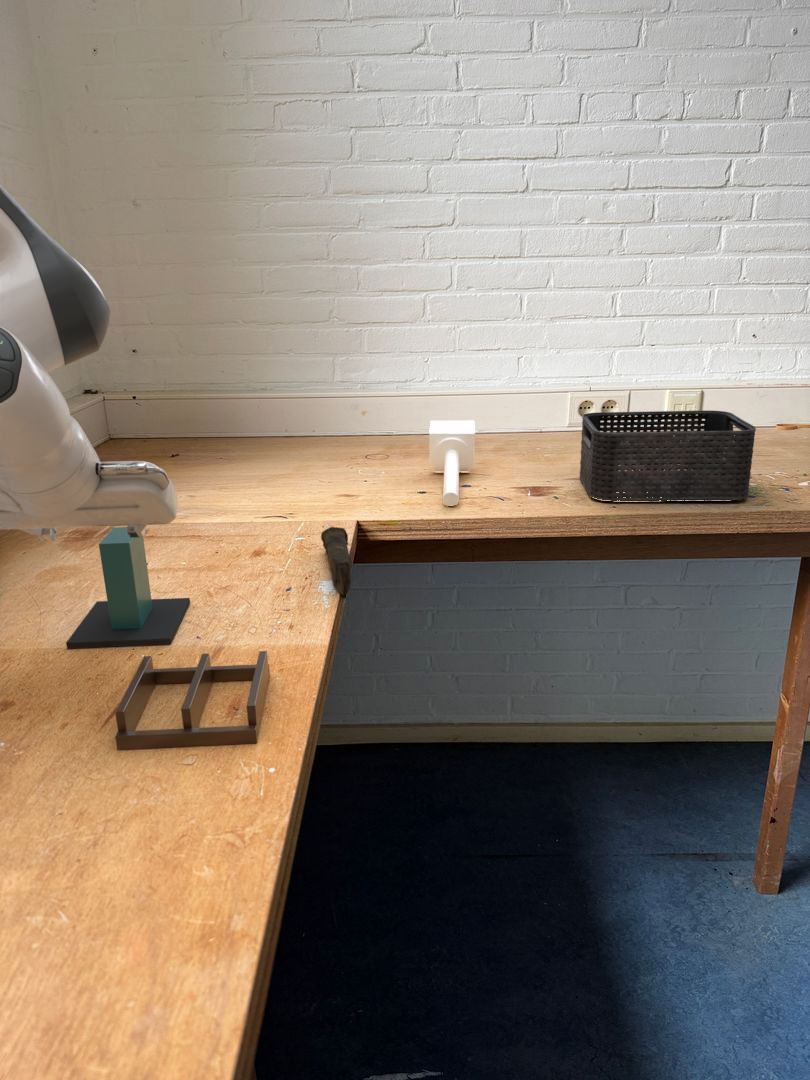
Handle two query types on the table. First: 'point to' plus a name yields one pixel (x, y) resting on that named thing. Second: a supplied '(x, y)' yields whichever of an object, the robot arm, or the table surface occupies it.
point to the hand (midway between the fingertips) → (94, 533)
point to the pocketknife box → (125, 579)
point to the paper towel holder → (451, 453)
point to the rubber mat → (153, 631)
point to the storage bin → (666, 456)
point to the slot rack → (191, 705)
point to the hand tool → (338, 557)
